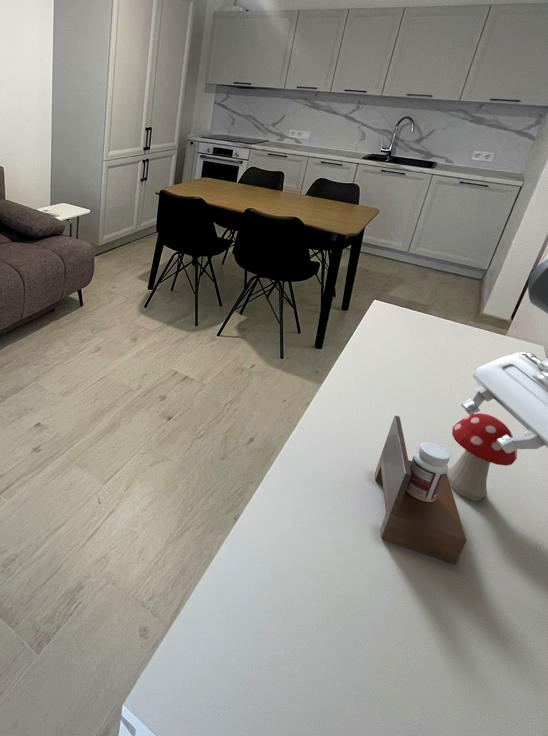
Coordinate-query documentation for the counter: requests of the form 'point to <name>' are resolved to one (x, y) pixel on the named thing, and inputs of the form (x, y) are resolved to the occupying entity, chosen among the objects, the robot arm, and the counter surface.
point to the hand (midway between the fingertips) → (481, 427)
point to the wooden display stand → (416, 506)
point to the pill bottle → (428, 471)
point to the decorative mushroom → (478, 454)
